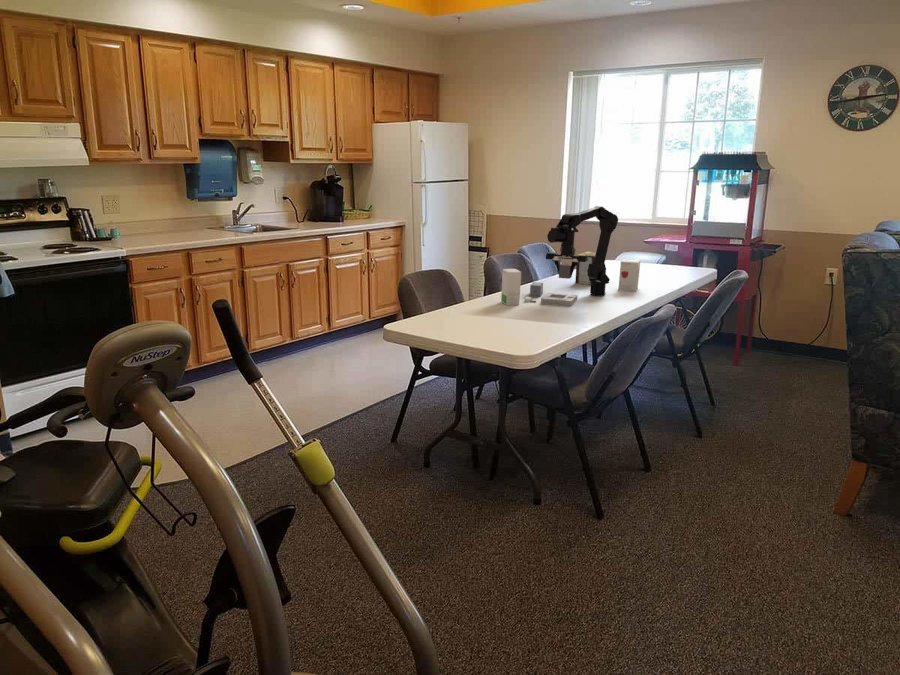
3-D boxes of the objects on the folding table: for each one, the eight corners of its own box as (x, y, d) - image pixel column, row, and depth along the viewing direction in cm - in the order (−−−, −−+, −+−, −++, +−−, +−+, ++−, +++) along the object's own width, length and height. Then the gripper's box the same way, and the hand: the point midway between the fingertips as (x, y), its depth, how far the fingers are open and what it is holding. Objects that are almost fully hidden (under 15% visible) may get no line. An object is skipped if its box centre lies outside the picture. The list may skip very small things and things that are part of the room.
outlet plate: (577, 300, 305) (577, 294, 304) (571, 306, 293) (571, 300, 292) (548, 297, 310) (548, 292, 309) (540, 303, 298) (541, 298, 297)
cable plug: (537, 301, 303) (537, 297, 302) (535, 302, 300) (535, 299, 299) (526, 300, 304) (526, 297, 304) (524, 301, 302) (524, 298, 301)
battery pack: (542, 293, 321) (543, 282, 319) (540, 297, 312) (540, 285, 311) (532, 293, 322) (533, 282, 320) (529, 296, 314) (530, 285, 312)
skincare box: (500, 302, 301) (501, 268, 297) (514, 301, 302) (515, 268, 298) (506, 305, 293) (507, 271, 289) (520, 305, 295) (521, 271, 290)
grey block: (571, 277, 305) (572, 263, 303) (569, 278, 301) (570, 264, 299) (561, 276, 307) (562, 262, 305) (558, 277, 302) (559, 263, 301)
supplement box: (617, 290, 329) (620, 261, 325) (620, 287, 337) (622, 258, 333) (636, 291, 326) (638, 262, 322) (638, 288, 334) (640, 259, 330)
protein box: (603, 281, 354) (605, 252, 349) (593, 285, 341) (595, 256, 337) (585, 279, 359) (586, 251, 355) (574, 283, 347) (576, 254, 342)
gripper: (591, 241, 303) (588, 274, 307) (552, 239, 310) (549, 271, 314) (586, 244, 293) (583, 278, 297) (546, 241, 300) (544, 274, 304)
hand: (565, 275), depth 303 cm, fingers closed on grey block, 5 cm apart
